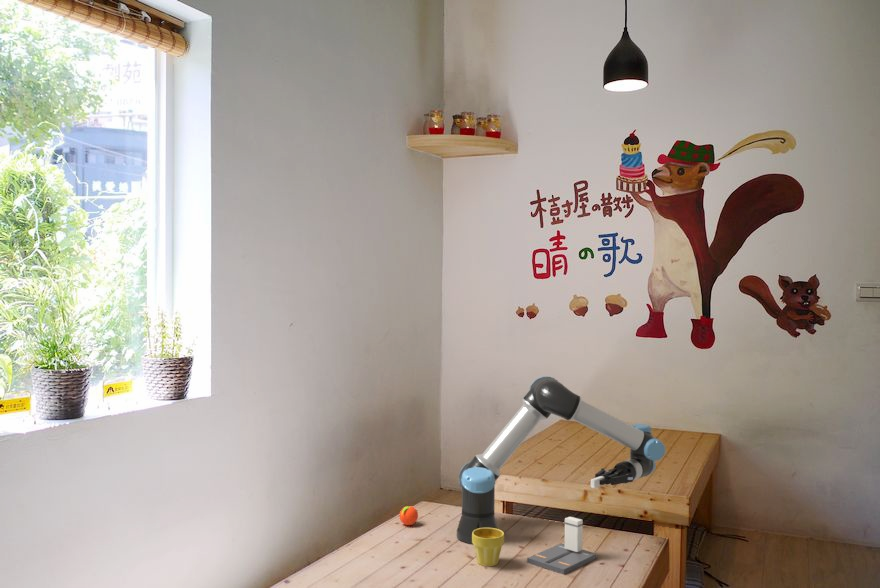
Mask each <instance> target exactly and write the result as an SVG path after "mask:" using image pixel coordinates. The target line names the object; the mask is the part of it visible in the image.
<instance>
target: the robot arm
mask: <svg viewBox="0 0 880 588" xmlns="http://www.w3.org/2000/svg"><path fill="white" fill-rule="evenodd" d="M551 415H555V416H557V417H560V418H562V419H565V420H567V421H574V422H577V423H579V424H581V425H583V426H585V427H587V428H588V429H590V430H592V431H594V432H597V433H599V434H601V435H603V436H605V437H607V438H609V439H610V440H612V441H615V442H616V443H619V444H620V445H623V446H625V447H627V448H628V449H629V450H630V451H629V452H630V455H629V456H630V457H629V459H626V460H623V461H620V462H618V463H616V464H615V466H614V467H613V468H611V469H610V468H609V469H608V470H607V469H605V468H601V469H600V470H599V471H598V472H597V473H595V474H594V475H595V476H594V478H590V488H592V489H596V488H599V487H601V486H604V485H605V486H607V485H610V486H617V485H620V484H628V483H634V481H635V480H637V479H641V478H643V477H648V476H649V475H651V474H652V473H653V472H654V471H655V470H656V467H657V466H656V464H657V463H656V461H660V460H661V459H663V458H664V456H665V454H666V447H665V444H664V443H663V442H662V441H661V440H660V439H658V438H656V436H653V435H652V427H651V425H648V424H644V423H635V424H628V423H626V422H624V421H623V420H621V419H619V418H617V417H615V416H613V415H611V414H609V413H607V412H606V411H604V410H601V409H599V408H597V407H595V406H594V405H591V404H590V403H588V402H586V401H584V400H582V397H581V396H580V395H579V394H577V393H574V392H573V391H571V390H570V389H569V388H568V387H566V386H565V385H563V383H562V382H560V381H559V380H557V379H556V378H555V377H551V376H548V375H546V376H540V377H538V378H536V379H534V381H533V382H532V383H531V385H530V387H529V390H528V392H527V393H526V394H525V395H524V396H523V398H522V405H521V406H520V408H519V409H518V410H517V411H516V413H515V414H514V415H512V417H511V418H510V420H509V421H508V422H507V424H506V425H505V426H504V427H503V428H502V429H501V431H500V432H499V433H498V434H497V435H496V437H494V439H493V440H492V441H491V443H490V444H489V445H488V446H487V448H486V449H485V450H484V451H483V453H480V454H475V456H474V457H473V458H472V459H471V461H469V462H466V463H465V464H464V465H463V466H462V467H461V469H460V471H459V474H458V484H459V487H460V492H461V515H460V519H459V522H458V525H457V527H456V538H457V540H459V541H461V542H463V543H466V544H471V545H472V544H473V543H472V532H473V531H474V530H476V529H479V528H496V529H499V528H498V524H497V519H496V515H495V500H496V499H495V493H496V492H495V489H496V487H495V486H496V481H497V480H498V479H499V477H500V476H501V468H502V467H503V466H504V465H505V464H506V462H508V460H509V459H510V458H511V456H512V455H513V454H514V452H515V451H516V450H517V449H518V448H519V447H520V445H521V444H522V443H523V442H524V441H525V440H526V439H527V437H528V436H529V435H530V433H531V432H532V431H533V430H534V429H535V428H536V426H537V425H538V424H539V422H540V421H541V420H548V419H549V417H550V416H551ZM473 545H474V544H473Z"/></svg>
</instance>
